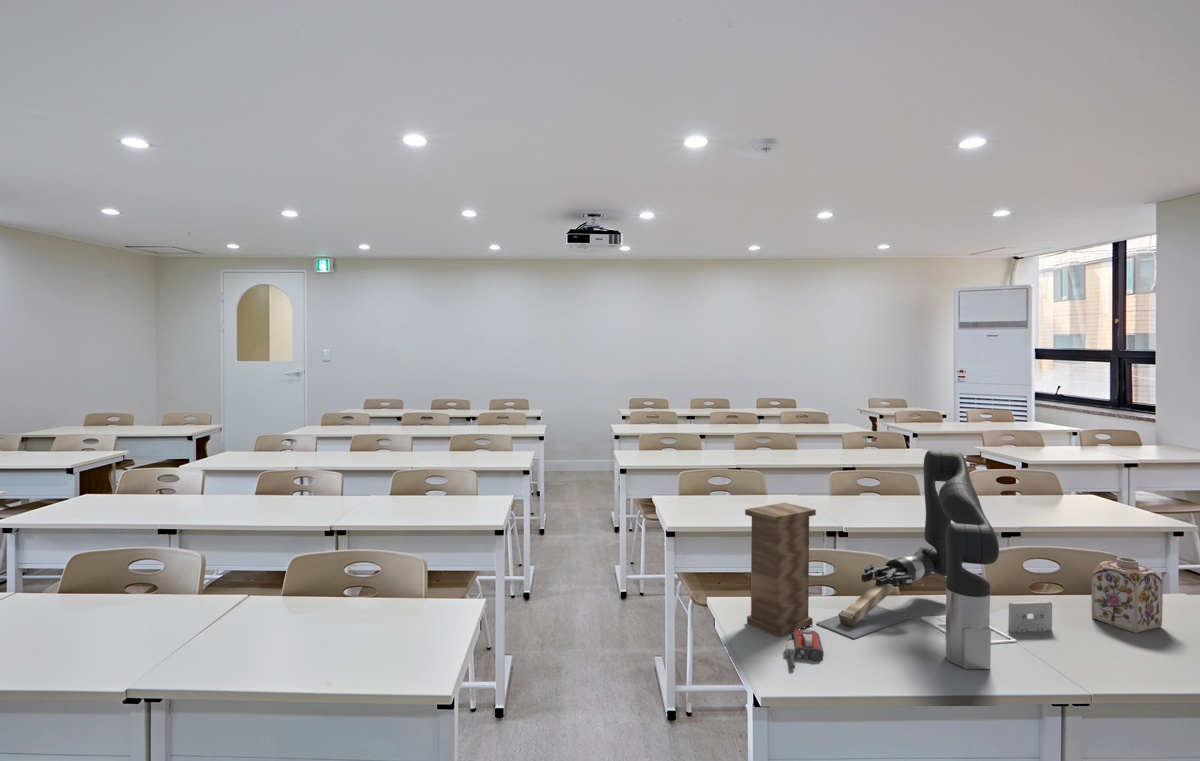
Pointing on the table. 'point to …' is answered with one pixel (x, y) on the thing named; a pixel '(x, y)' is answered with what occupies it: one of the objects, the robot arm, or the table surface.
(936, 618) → the photo frame
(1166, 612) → the table surface
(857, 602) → the wooden bar
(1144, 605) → the decorative jar
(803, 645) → the walkie-talkie
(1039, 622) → the cassette
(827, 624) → the mat
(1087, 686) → the table surface
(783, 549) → the stand
